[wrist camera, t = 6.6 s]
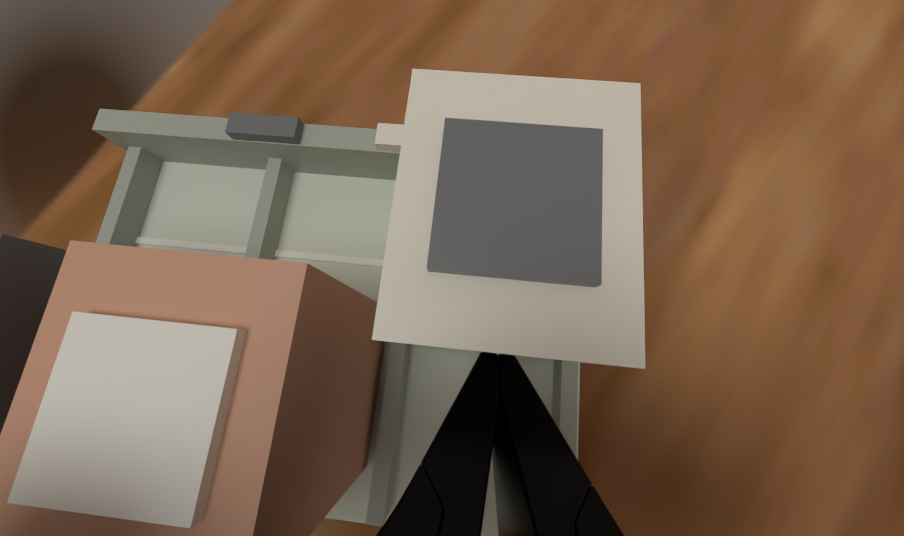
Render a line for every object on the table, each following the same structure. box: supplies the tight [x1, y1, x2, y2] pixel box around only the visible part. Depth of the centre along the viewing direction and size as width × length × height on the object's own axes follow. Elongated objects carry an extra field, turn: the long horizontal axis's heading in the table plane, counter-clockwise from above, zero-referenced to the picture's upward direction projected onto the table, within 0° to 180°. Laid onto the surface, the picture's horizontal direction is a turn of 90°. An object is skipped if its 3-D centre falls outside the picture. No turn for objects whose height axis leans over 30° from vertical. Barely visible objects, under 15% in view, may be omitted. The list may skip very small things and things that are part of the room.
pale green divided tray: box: [92, 109, 580, 536], centre depth 15 cm, size 15×21×5 cm
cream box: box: [372, 69, 645, 369], centre depth 11 cm, size 6×5×8 cm
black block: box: [0, 234, 67, 434], centre depth 11 cm, size 6×5×8 cm
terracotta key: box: [0, 241, 385, 536], centre depth 10 cm, size 6×5×8 cm
